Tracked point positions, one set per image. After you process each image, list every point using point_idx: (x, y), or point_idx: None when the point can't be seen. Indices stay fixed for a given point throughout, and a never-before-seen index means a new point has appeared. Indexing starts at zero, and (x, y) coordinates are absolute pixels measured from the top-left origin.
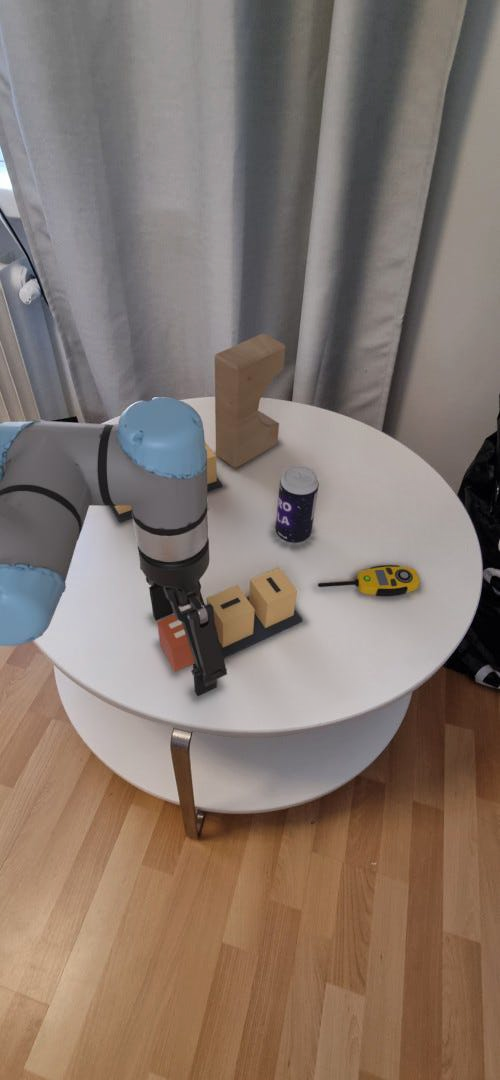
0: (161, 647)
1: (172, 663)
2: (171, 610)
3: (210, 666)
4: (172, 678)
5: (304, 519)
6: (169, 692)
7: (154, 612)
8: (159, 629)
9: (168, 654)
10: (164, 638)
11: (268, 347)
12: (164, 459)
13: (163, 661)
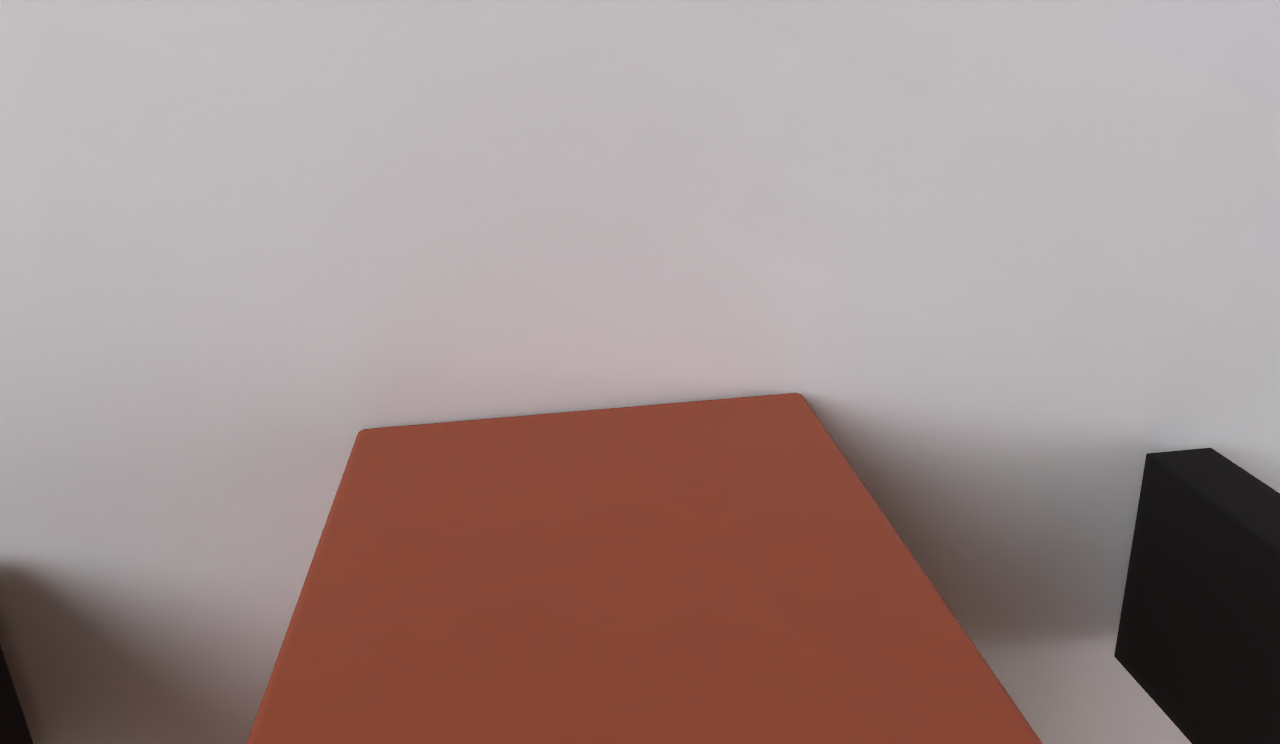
0: (762, 399)
1: (384, 493)
2: (1156, 681)
3: None
4: (283, 375)
5: None
6: (83, 275)
7: (1266, 542)
8: (893, 677)
9: (515, 509)
10: (639, 714)
11: None
12: None
13: (570, 353)
